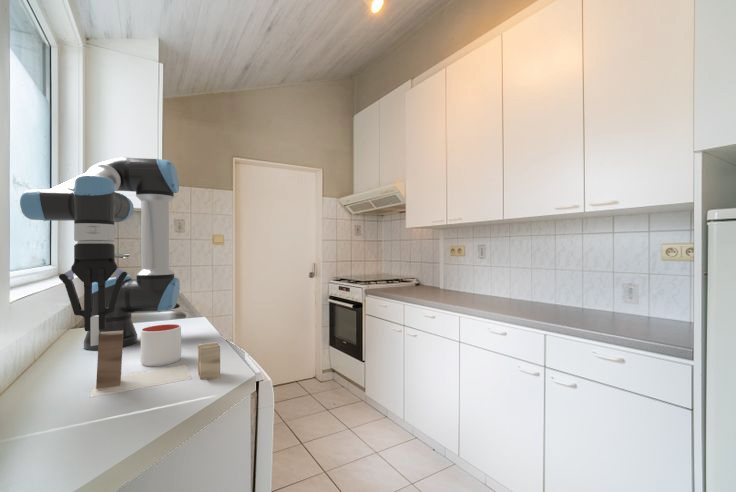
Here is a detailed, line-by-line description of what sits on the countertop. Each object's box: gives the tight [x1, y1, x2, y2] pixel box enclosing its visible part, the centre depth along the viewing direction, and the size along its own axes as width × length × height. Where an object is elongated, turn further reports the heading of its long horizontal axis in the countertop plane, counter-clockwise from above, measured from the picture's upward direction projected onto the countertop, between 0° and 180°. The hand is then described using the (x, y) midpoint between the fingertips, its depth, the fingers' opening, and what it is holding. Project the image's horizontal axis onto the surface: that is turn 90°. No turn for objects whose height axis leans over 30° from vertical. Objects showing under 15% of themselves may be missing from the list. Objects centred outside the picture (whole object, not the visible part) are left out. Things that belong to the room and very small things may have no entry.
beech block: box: [197, 341, 221, 381], centre depth 92 cm, size 4×4×8 cm
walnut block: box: [96, 331, 124, 389], centre depth 86 cm, size 4×4×12 cm
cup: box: [140, 323, 182, 368], centre depth 104 cm, size 10×10×10 cm
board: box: [89, 364, 193, 398], centre depth 89 cm, size 13×20×1 cm, turn 122°
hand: (95, 344), depth 84 cm, fingers closed
